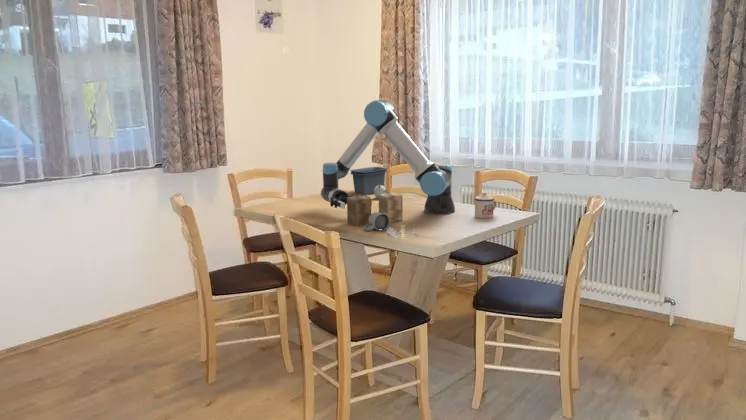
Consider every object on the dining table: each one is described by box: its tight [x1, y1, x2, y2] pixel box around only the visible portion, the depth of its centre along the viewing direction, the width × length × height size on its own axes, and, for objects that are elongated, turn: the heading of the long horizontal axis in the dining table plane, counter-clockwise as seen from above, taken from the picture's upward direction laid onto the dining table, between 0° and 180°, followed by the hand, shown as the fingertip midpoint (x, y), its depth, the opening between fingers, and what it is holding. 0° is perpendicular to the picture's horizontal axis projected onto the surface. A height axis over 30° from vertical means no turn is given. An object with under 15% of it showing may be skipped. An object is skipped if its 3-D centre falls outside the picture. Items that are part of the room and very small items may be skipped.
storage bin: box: [349, 166, 388, 196], centre depth 358 cm, size 21×16×14 cm
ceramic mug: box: [363, 211, 391, 232], centre depth 264 cm, size 11×8×8 cm
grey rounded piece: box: [372, 184, 389, 200], centre depth 338 cm, size 9×8×10 cm
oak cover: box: [378, 192, 404, 223], centre depth 282 cm, size 8×8×12 cm
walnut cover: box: [346, 195, 372, 227], centre depth 275 cm, size 8×8×12 cm
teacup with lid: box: [474, 191, 497, 219], centre depth 288 cm, size 12×9×12 cm
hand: (357, 204), depth 275 cm, fingers open, 13 cm apart
